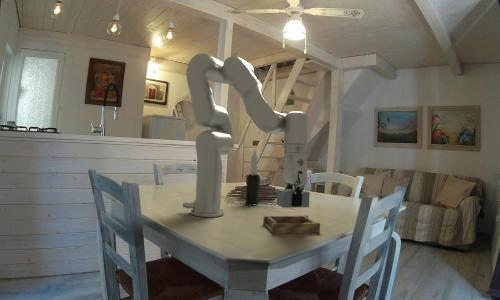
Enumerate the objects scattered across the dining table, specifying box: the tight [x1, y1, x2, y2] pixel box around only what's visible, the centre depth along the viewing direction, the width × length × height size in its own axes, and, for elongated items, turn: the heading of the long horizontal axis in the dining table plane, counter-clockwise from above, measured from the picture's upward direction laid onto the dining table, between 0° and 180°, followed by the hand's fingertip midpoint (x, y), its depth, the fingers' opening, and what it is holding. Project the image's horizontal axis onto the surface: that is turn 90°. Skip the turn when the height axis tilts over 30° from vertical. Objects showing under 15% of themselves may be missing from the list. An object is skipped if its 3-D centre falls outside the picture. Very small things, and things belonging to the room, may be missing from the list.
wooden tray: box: [262, 215, 321, 235], centre depth 98 cm, size 16×10×3 cm, turn 104°
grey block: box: [276, 188, 311, 209], centre depth 97 cm, size 9×6×5 cm, turn 105°
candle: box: [245, 148, 261, 205], centre depth 134 cm, size 5×5×25 cm
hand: (292, 203), depth 97 cm, fingers closed on grey block, 6 cm apart
